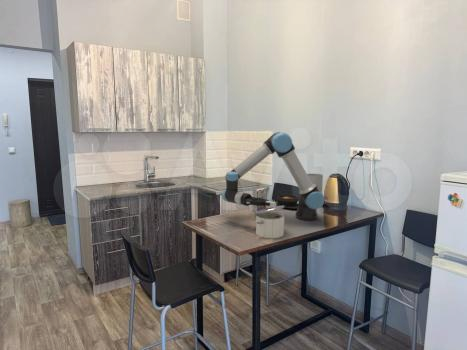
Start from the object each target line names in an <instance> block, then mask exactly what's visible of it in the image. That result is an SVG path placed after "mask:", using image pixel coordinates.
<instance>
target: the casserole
mask: <svg viewBox="0 0 467 350" xmlns="http://www.w3.org/2000/svg"><path fill="white" fill-rule="evenodd" d="M276 200H277V201H274V202H275V203H276V206H284V207H285V208H284V209H287V210H289V209H294V210H295V209H296V210H297V209H298V204H299V196H296V195H293V194H280V195H278V196H277V198H276Z"/></svg>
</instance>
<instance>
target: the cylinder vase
mask: <svg viewBox="0 0 467 350" xmlns="http://www.w3.org/2000/svg"><path fill="white" fill-rule="evenodd" d="M307 175H308V177H309V179H310V180H311V182H312V183H313V184H316V186H317V188H318V190H319V191H320V192H321V193H322V194H323V181H324V180H323V179H324V178H323V177H324V176H323V174H321V173H307Z"/></svg>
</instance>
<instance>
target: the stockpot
mask: <svg viewBox="0 0 467 350" xmlns="http://www.w3.org/2000/svg"><path fill="white" fill-rule="evenodd" d="M254 219H255V220H256V221H255V235H257V236H258V237H260V238H265V239H278V238H279V239H280V238H281V237H283V236H285V235H284V234H285V214H282V212H281V213H279V212H275V211H271V212H266V213H261V214H255V213H254Z"/></svg>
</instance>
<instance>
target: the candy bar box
mask: <svg viewBox="0 0 467 350" xmlns="http://www.w3.org/2000/svg"><path fill="white" fill-rule="evenodd" d="M267 192H268V189H267V188H265V187H260V188H255V189H252V197H255V198H258V197H260V198H263V199H266V200H268V199H267V198H268V197H267ZM267 207H268V206H266V205H265V207H263V206H256V205H252V212H255V211H259V210H263V209H267Z"/></svg>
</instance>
